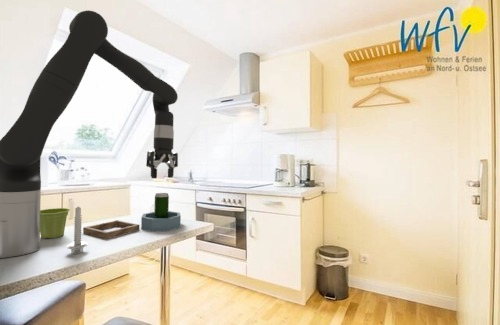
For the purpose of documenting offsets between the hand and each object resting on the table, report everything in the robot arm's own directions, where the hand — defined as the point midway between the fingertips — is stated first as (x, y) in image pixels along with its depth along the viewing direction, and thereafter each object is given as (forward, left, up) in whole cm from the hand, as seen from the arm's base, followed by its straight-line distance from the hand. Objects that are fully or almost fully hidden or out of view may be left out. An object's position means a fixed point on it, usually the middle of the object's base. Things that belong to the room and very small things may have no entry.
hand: (162, 177), depth 103 cm
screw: (-33, -2, -20) cm, 38 cm away
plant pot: (-29, +20, -20) cm, 40 cm away
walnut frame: (-15, +9, -19) cm, 26 cm away
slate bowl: (0, 0, -19) cm, 19 cm away
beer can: (0, 0, -19) cm, 19 cm away
